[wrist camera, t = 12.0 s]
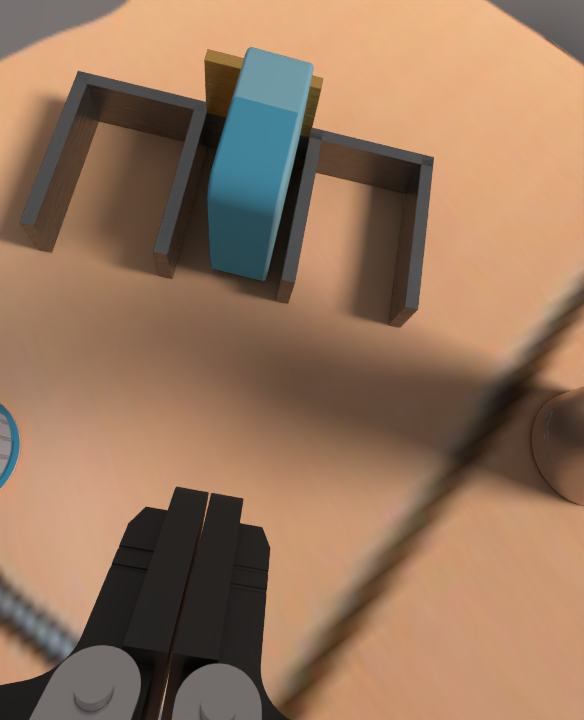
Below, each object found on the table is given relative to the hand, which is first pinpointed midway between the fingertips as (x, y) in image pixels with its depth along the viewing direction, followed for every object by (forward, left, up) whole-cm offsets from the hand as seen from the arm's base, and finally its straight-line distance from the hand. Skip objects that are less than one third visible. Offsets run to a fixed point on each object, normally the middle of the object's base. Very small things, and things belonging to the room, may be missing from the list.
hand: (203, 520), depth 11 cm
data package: (+2, -24, -26) cm, 35 cm away
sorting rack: (+3, -24, -26) cm, 35 cm away
